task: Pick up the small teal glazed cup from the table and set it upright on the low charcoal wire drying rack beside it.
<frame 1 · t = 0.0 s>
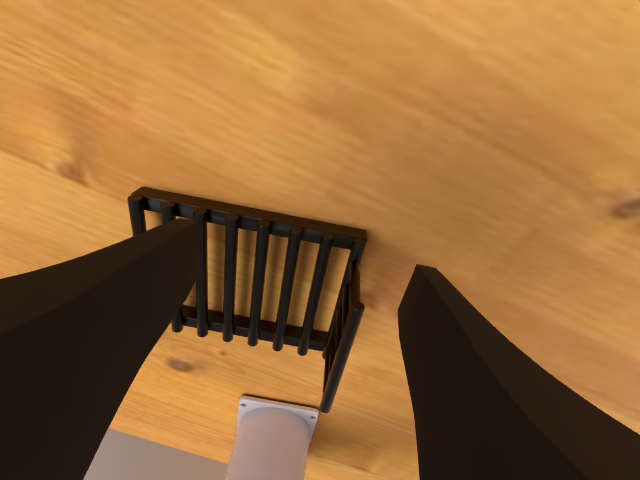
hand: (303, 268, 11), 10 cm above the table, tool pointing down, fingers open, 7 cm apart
rack: (249, 274, 24), on the table
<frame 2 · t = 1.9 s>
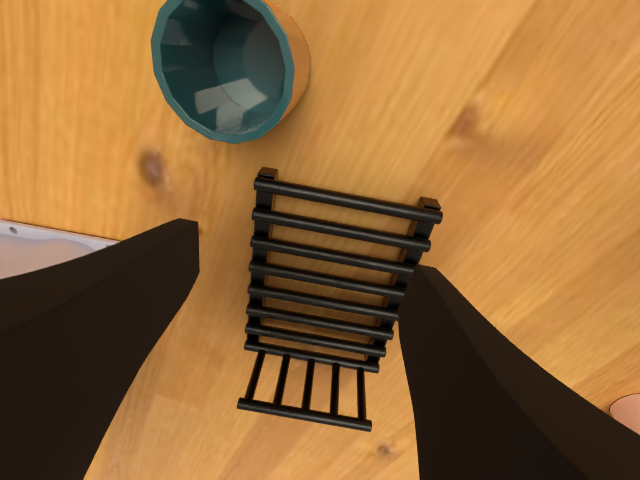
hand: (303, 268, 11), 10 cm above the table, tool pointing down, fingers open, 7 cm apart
rack: (328, 277, 24), on the table
smoothie: (632, 404, 28), on the table
cup: (260, 64, 17), on the table
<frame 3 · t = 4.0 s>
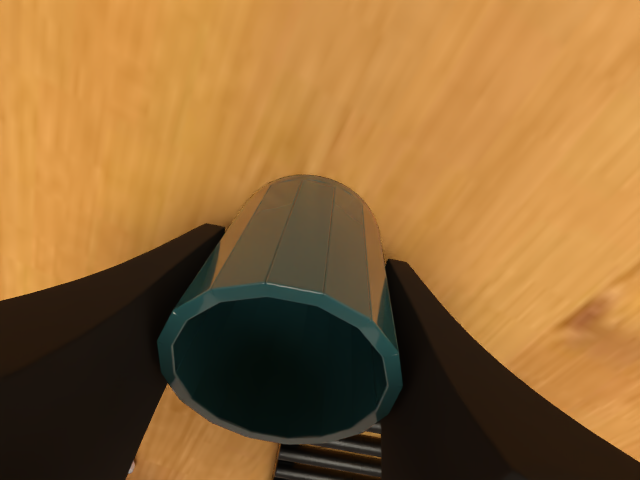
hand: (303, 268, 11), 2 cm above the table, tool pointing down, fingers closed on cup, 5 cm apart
rack: (374, 445, 19), on the table
cup: (307, 242, 12), on the table, touching gripper
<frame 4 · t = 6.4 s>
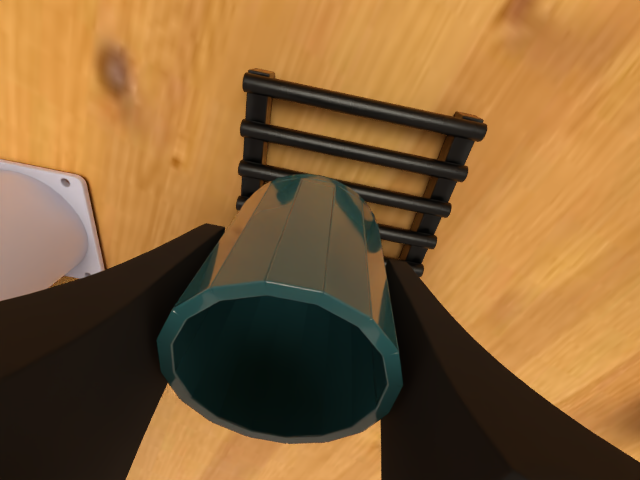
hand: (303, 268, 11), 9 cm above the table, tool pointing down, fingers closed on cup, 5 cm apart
rack: (334, 224, 19), on the table
cup: (307, 241, 12), point 7 cm above the table, touching gripper
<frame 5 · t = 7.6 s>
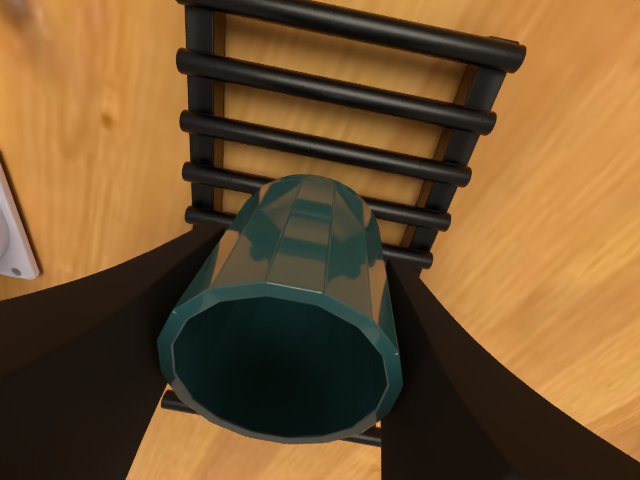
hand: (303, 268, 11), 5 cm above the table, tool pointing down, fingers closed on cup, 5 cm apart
rack: (317, 202, 15), on the table
cup: (307, 242, 12), point 4 cm above the table, touching gripper
when the fingers open (4 cm above the table, at t = 8.7 s): cup stays where it is, resting on rack.
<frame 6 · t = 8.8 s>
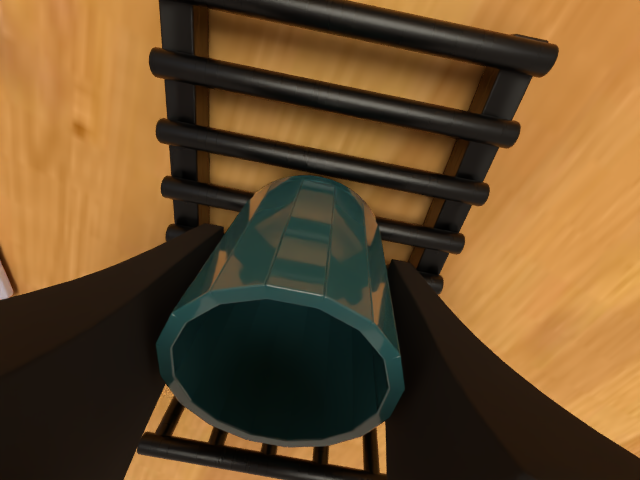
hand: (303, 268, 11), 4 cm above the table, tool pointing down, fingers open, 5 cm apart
rack: (314, 219, 14), on the table
cup: (308, 243, 12), point 2 cm above the table, touching rack
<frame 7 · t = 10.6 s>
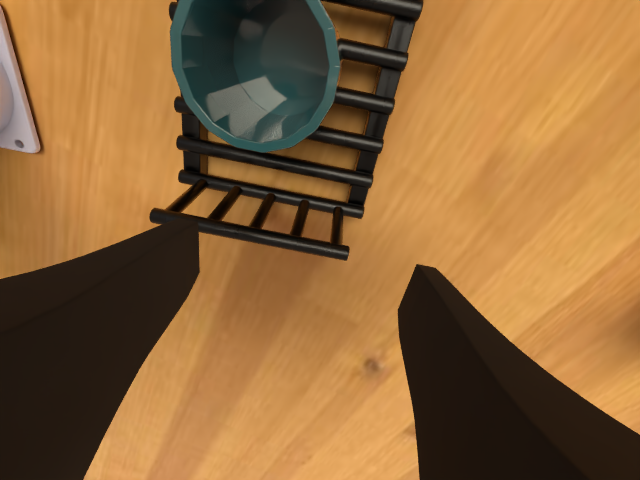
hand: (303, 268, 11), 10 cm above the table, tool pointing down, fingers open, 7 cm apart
rack: (292, 60, 17), on the table
cup: (285, 61, 15), point 2 cm above the table, touching rack
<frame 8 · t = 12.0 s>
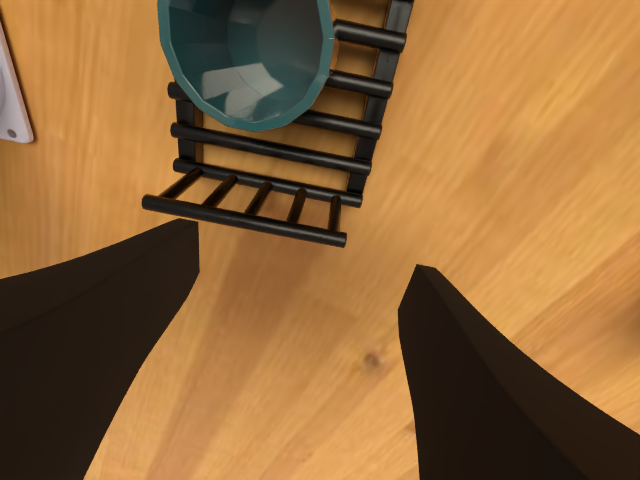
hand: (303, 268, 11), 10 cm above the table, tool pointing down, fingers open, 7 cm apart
rack: (288, 44, 16), on the table
cup: (280, 43, 15), point 2 cm above the table, touching rack
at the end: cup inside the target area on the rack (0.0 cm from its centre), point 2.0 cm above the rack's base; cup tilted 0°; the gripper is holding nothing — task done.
